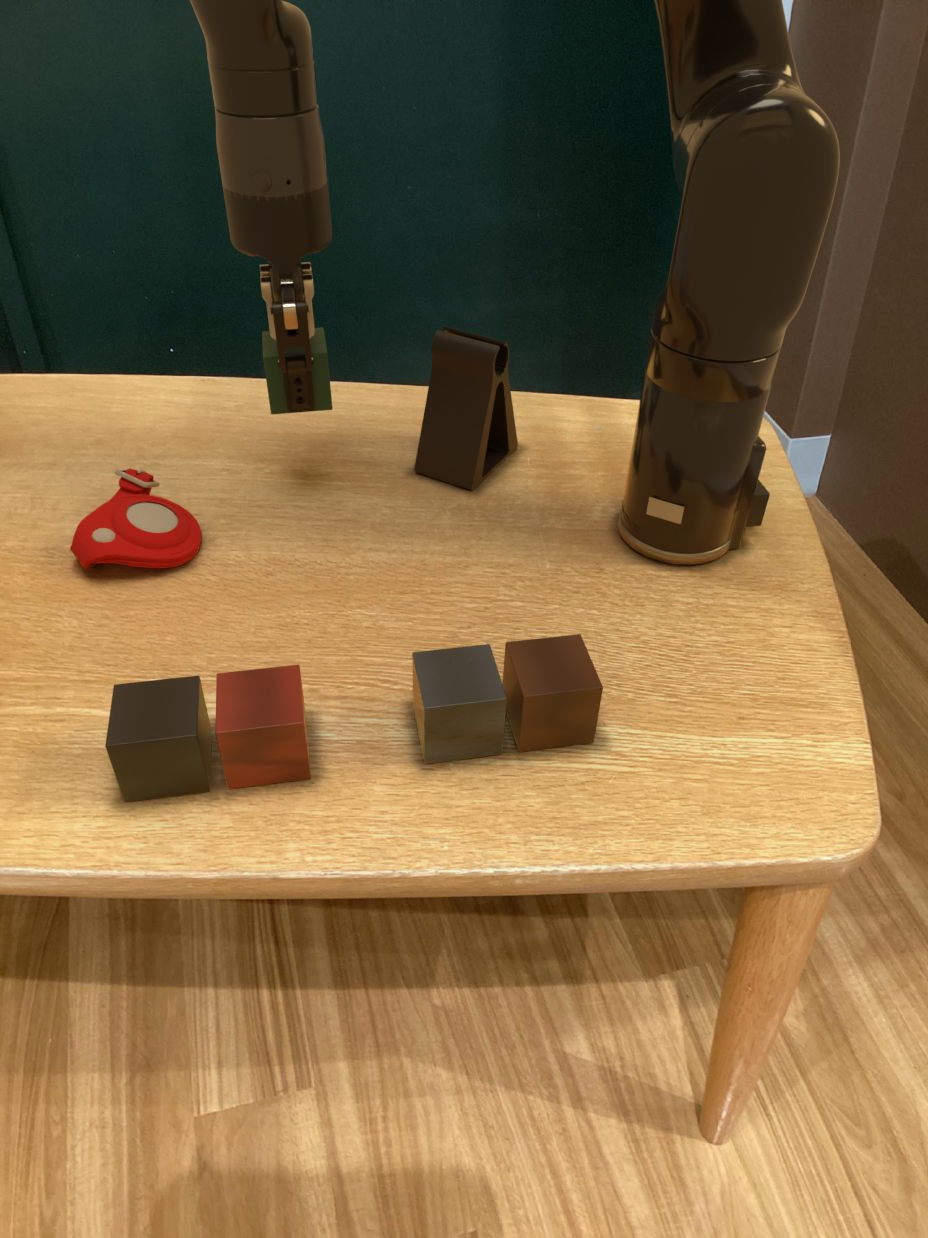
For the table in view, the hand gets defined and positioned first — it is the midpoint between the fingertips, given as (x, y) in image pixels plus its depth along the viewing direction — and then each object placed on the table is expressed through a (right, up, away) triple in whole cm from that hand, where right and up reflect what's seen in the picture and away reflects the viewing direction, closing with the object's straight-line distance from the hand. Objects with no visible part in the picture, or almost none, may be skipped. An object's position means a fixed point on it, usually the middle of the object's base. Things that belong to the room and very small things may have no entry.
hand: (299, 393), depth 77 cm
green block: (0, 0, 0) cm, 0 cm away
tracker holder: (-12, -12, -2) cm, 17 cm away
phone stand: (+14, -4, +8) cm, 17 cm away
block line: (+7, -27, -18) cm, 33 cm away
